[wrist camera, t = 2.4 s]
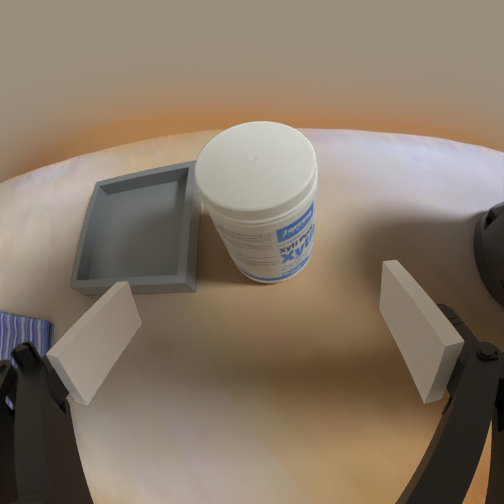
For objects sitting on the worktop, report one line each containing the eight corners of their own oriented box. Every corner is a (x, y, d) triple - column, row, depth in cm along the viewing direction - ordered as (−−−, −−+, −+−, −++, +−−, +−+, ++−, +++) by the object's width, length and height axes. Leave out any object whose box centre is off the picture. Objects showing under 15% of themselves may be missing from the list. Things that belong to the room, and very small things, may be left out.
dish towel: (-9, 308, 38) (-19, 304, 35) (57, 321, 34) (45, 316, 32) (-16, 389, 31) (-26, 387, 28) (51, 430, 27) (38, 430, 25)
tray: (203, 175, 40) (196, 160, 37) (195, 291, 33) (185, 282, 30) (106, 193, 42) (96, 182, 39) (84, 295, 35) (69, 287, 32)
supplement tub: (303, 293, 31) (306, 227, 17) (221, 275, 33) (170, 205, 20) (319, 217, 34) (325, 124, 21) (244, 205, 36) (216, 116, 23)
